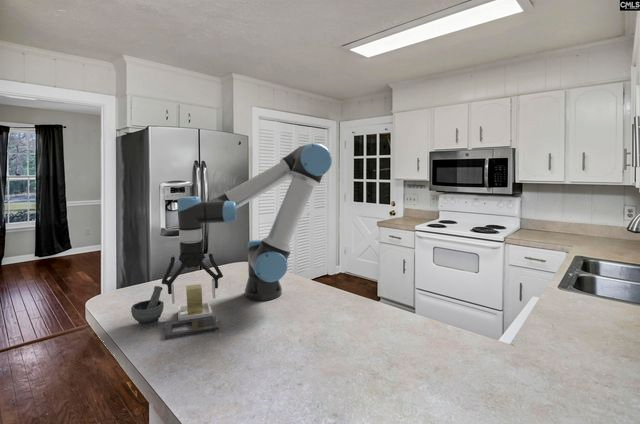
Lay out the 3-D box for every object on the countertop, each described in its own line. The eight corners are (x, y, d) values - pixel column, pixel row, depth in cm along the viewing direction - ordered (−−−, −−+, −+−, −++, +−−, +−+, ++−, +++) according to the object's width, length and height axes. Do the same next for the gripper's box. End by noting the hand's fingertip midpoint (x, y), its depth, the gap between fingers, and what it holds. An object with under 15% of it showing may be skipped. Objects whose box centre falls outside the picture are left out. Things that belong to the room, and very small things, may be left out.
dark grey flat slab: (215, 318, 126) (215, 315, 126) (218, 330, 116) (218, 326, 116) (165, 326, 120) (165, 322, 120) (164, 339, 111) (164, 335, 110)
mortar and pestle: (147, 332, 115) (145, 296, 114) (126, 328, 119) (123, 293, 117) (173, 319, 126) (171, 285, 124) (152, 315, 129) (150, 282, 128)
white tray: (209, 307, 136) (209, 302, 136) (212, 318, 126) (212, 312, 125) (178, 312, 132) (178, 306, 132) (178, 323, 122) (178, 317, 121)
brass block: (202, 310, 132) (200, 284, 131) (202, 315, 127) (201, 288, 126) (187, 312, 130) (186, 285, 129) (187, 317, 126) (186, 290, 124)
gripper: (226, 236, 134) (228, 291, 136) (152, 241, 125) (156, 301, 127) (229, 240, 127) (231, 298, 129) (151, 246, 118) (155, 308, 120)
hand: (194, 299), depth 128 cm, fingers open, 13 cm apart
